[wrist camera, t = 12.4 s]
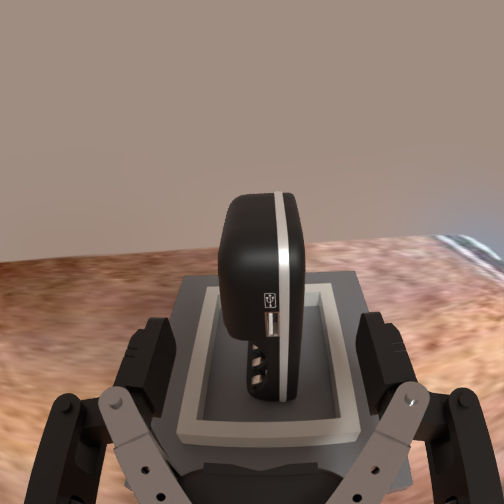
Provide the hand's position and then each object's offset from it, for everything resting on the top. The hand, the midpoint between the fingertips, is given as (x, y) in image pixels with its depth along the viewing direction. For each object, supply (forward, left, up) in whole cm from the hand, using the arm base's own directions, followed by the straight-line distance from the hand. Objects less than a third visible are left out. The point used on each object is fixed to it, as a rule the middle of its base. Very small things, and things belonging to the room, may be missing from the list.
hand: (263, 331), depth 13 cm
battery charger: (0, +4, -8) cm, 9 cm away
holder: (0, +5, -9) cm, 10 cm away
